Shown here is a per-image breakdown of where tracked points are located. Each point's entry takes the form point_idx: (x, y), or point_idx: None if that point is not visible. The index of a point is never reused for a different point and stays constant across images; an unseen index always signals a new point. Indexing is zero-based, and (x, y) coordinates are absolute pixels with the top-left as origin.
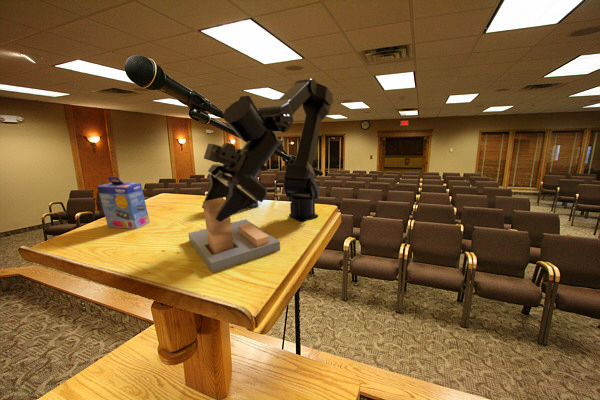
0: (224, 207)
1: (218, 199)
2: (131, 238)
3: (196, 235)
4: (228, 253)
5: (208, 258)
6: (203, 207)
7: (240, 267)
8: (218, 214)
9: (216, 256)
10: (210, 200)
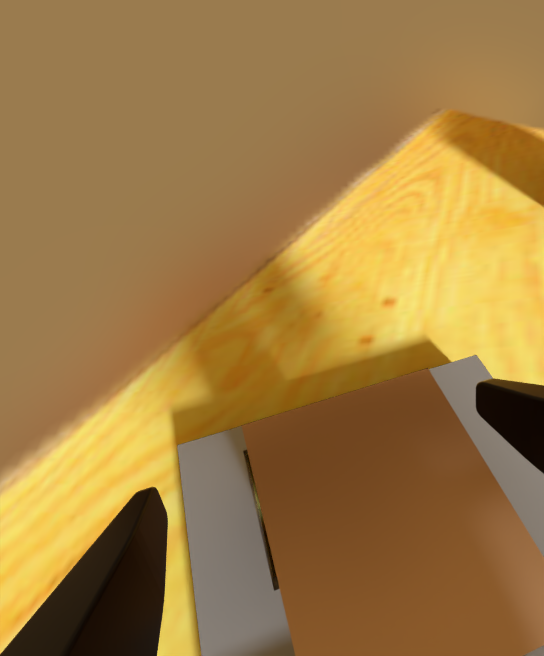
0: (15, 641)
1: (484, 560)
2: (487, 222)
3: (449, 386)
4: (226, 524)
5: (219, 435)
6: (481, 390)
7: (171, 566)
8: (119, 521)
9: (221, 467)
10: (449, 447)
